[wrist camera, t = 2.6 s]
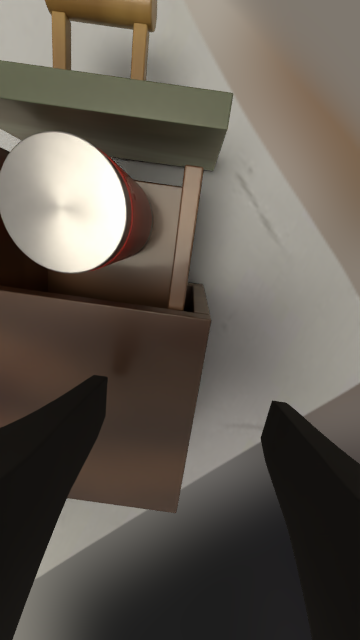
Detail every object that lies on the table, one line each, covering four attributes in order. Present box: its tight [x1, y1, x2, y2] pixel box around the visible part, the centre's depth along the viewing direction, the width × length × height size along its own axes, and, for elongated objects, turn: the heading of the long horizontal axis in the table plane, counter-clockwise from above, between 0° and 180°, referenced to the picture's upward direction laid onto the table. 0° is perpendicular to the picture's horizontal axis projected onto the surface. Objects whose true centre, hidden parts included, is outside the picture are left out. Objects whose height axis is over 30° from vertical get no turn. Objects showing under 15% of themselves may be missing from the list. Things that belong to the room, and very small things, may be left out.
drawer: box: [0, 0, 233, 311], centre depth 14 cm, size 16×12×7 cm
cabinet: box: [0, 283, 211, 513], centre depth 18 cm, size 13×13×9 cm
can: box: [0, 131, 153, 274], centre depth 13 cm, size 5×5×7 cm
